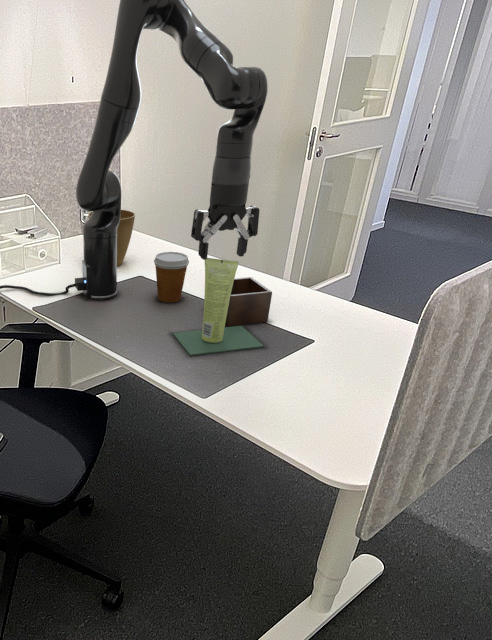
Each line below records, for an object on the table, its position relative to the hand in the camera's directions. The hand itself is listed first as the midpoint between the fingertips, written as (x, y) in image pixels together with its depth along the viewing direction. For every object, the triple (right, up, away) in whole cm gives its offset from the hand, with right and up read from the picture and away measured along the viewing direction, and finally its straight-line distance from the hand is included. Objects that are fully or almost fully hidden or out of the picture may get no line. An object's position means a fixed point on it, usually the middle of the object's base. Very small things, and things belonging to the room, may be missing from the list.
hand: (221, 257), depth 125 cm
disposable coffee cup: (-6, -3, +35) cm, 36 cm away
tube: (0, -17, +11) cm, 20 cm away
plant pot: (-21, +14, +63) cm, 68 cm away
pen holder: (+10, -9, +24) cm, 27 cm away
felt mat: (+1, -17, +11) cm, 20 cm away
